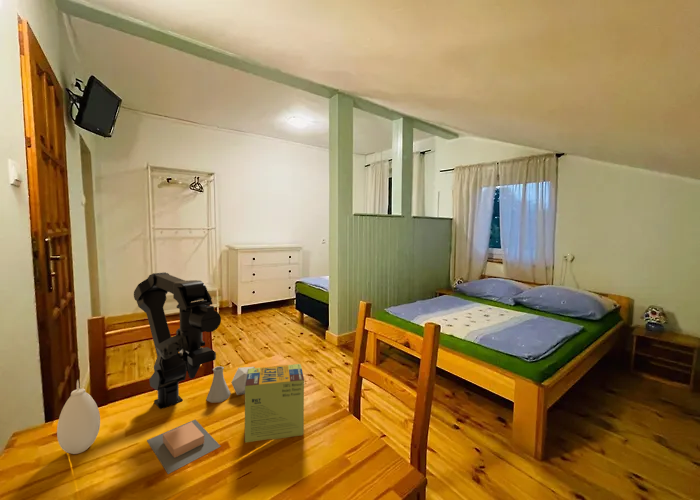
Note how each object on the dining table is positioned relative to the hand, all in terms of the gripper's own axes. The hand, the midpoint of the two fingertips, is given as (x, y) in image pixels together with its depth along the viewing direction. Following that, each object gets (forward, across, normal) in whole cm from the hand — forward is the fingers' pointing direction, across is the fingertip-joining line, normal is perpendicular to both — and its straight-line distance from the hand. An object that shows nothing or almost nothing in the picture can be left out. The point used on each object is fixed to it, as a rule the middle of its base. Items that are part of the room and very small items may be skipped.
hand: (191, 377), depth 88 cm
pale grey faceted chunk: (+12, -2, +18) cm, 22 cm away
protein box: (+12, +21, +14) cm, 28 cm away
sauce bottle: (+12, -6, -24) cm, 28 cm away
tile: (+10, +6, -6) cm, 13 cm away
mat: (+12, +10, -6) cm, 17 cm away
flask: (+12, -5, +10) cm, 17 cm away
